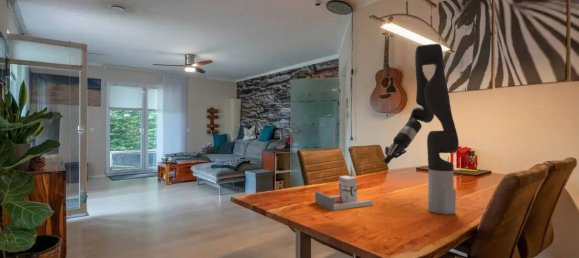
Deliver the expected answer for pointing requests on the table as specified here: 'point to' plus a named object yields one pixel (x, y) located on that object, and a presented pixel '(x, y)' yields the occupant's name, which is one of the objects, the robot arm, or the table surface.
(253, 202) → the table surface
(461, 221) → the table surface
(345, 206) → the bay
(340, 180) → the ink box
